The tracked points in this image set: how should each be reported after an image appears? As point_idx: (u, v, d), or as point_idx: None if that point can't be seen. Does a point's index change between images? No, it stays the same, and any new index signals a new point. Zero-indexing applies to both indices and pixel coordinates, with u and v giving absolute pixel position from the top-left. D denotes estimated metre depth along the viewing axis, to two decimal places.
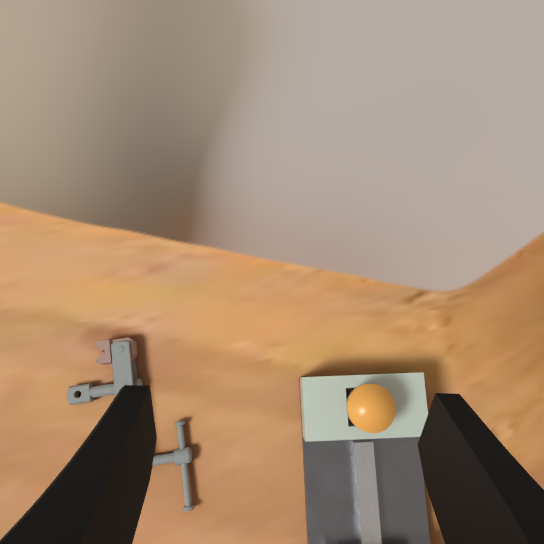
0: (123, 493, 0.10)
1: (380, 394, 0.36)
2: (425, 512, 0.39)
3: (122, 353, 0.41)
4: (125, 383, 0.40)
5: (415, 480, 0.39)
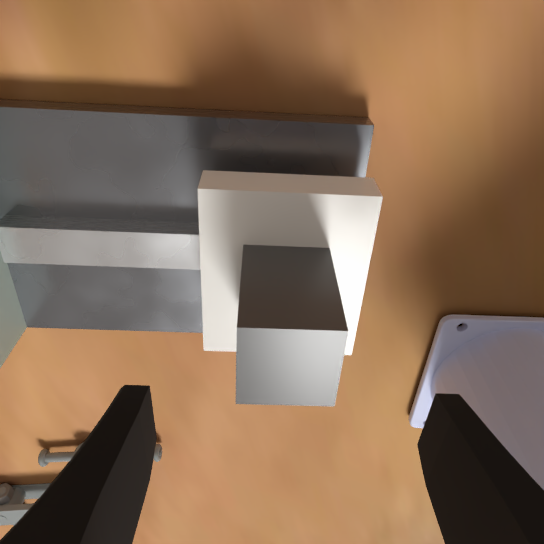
0: (124, 493, 0.10)
1: None
2: (143, 118, 0.17)
3: None
4: None
5: (74, 130, 0.17)
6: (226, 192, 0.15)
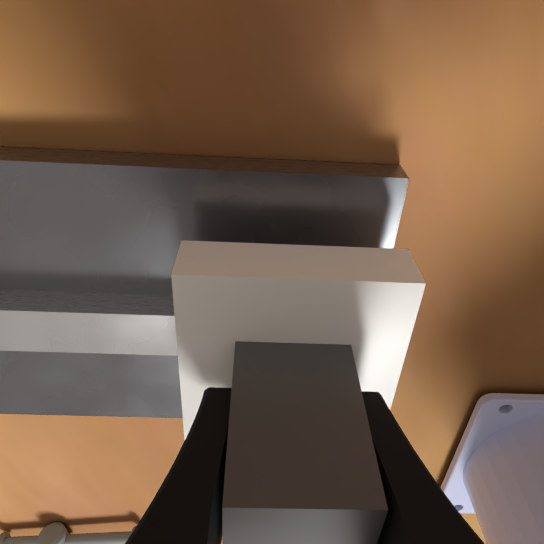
0: (220, 495, 0.10)
1: None
2: (102, 170, 0.12)
3: None
4: None
5: (12, 185, 0.13)
6: (211, 278, 0.11)
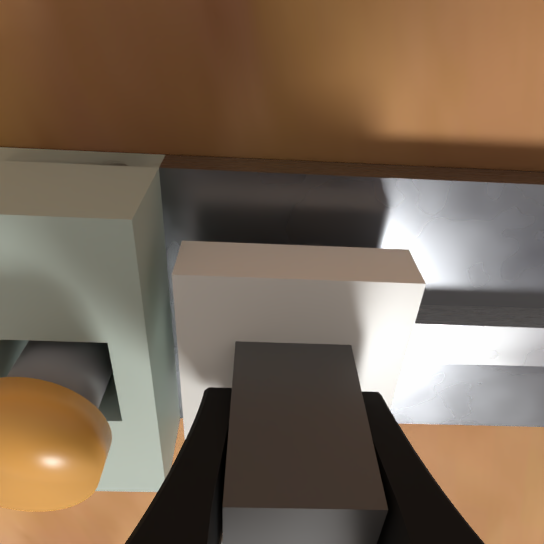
0: (221, 495, 0.10)
1: None
2: (394, 183, 0.13)
3: None
4: None
5: (301, 198, 0.13)
6: (212, 279, 0.11)
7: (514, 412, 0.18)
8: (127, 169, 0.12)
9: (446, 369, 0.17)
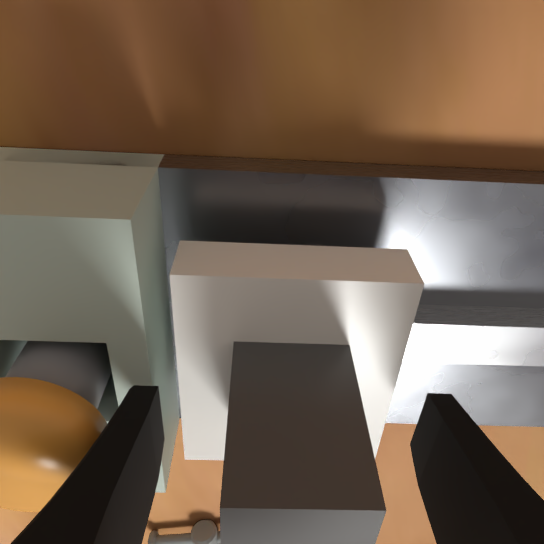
0: (134, 494, 0.10)
1: None
2: (394, 182, 0.13)
3: None
4: None
5: (300, 198, 0.13)
6: (209, 279, 0.11)
7: (514, 412, 0.18)
8: (126, 169, 0.12)
9: (446, 369, 0.17)
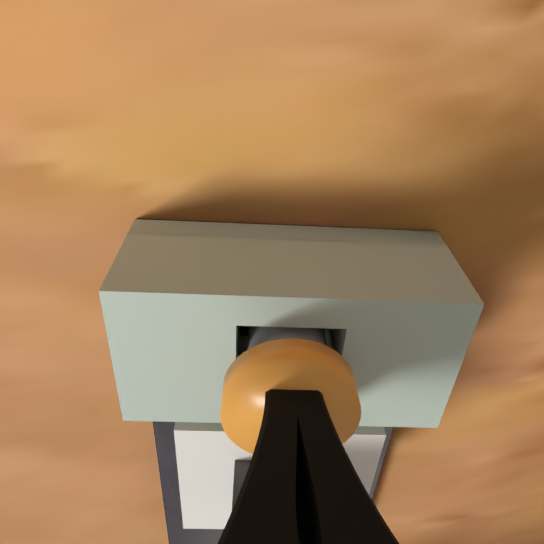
0: None
1: (323, 391, 0.11)
2: (379, 464, 0.21)
3: None
4: None
5: None
6: (378, 452, 0.16)
7: (183, 536, 0.24)
8: None
9: None
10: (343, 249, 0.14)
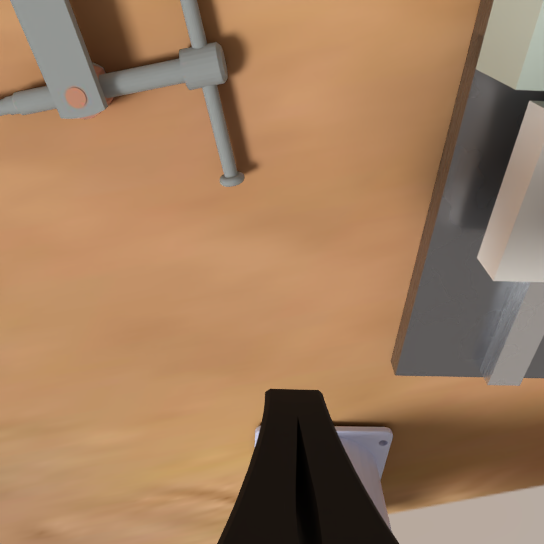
0: None
1: None
2: None
3: None
4: None
5: None
6: None
7: (417, 350, 0.23)
8: None
9: (480, 298, 0.21)
10: None
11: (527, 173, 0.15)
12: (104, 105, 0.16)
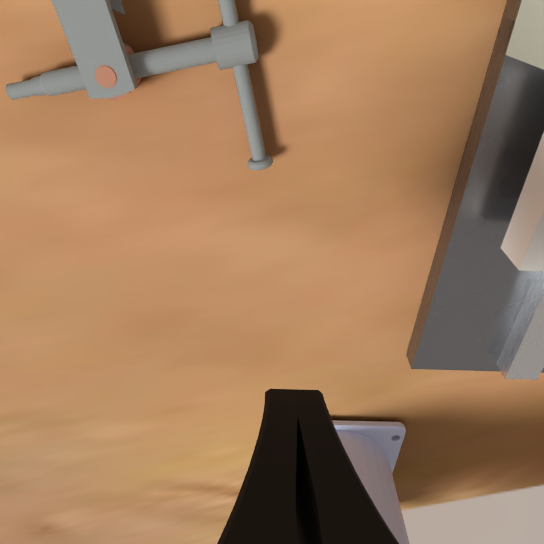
0: None
1: None
2: None
3: None
4: None
5: None
6: None
7: (435, 343, 0.23)
8: None
9: (500, 291, 0.21)
10: None
11: None
12: (134, 85, 0.15)
